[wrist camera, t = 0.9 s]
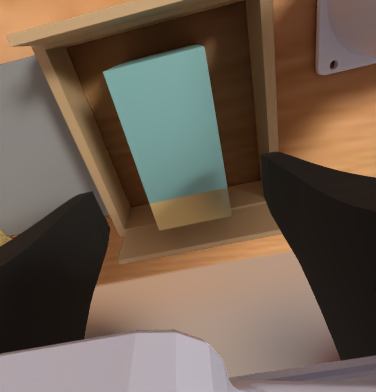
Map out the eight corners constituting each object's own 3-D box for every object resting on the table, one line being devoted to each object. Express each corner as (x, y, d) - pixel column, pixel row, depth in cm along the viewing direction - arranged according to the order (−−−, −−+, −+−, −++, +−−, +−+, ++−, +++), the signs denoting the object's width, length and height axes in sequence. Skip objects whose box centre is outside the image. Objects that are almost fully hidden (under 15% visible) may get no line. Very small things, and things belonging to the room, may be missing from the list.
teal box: (195, 43, 16) (204, 46, 11) (218, 172, 21) (232, 215, 16) (125, 61, 17) (102, 72, 11) (163, 183, 21) (159, 230, 16)
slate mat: (50, 51, 16) (46, 52, 16) (119, 209, 22) (117, 213, 22) (-95, 90, 17) (-104, 92, 16) (10, 232, 23) (6, 236, 22)
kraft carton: (255, -16, 15) (296, -45, 10) (268, 184, 21) (297, 230, 16) (52, 39, 16) (-9, 39, 11) (126, 214, 22) (111, 266, 17)
